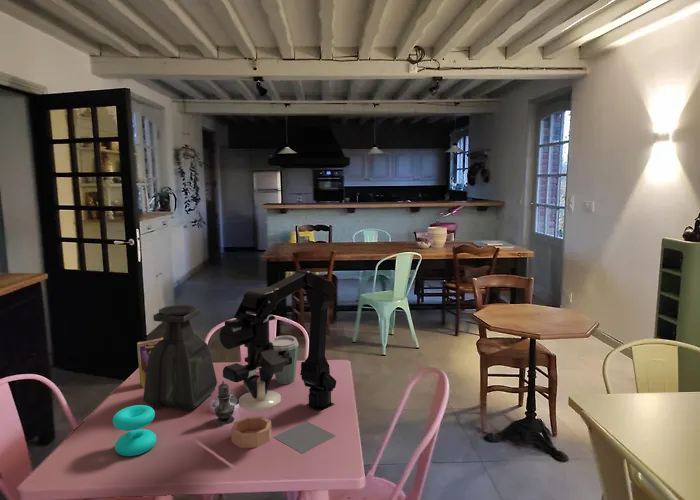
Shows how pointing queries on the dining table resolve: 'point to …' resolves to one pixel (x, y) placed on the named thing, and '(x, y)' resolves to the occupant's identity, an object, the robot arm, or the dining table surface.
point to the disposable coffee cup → (292, 348)
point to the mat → (304, 437)
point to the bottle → (179, 363)
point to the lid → (260, 399)
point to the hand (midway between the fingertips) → (259, 396)
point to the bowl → (251, 432)
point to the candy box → (145, 357)
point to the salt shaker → (224, 406)
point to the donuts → (134, 430)
